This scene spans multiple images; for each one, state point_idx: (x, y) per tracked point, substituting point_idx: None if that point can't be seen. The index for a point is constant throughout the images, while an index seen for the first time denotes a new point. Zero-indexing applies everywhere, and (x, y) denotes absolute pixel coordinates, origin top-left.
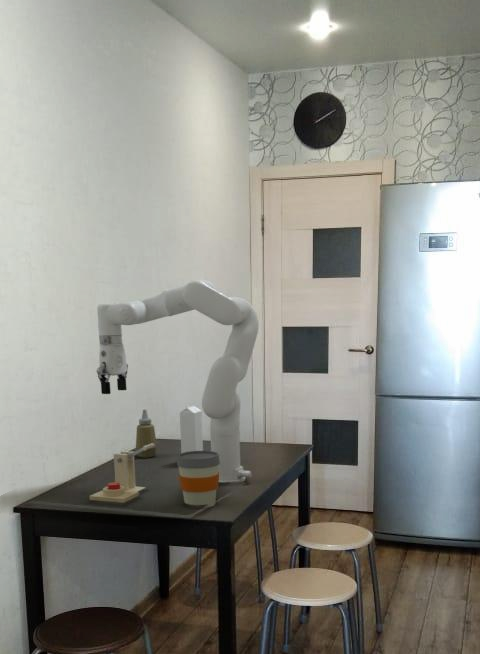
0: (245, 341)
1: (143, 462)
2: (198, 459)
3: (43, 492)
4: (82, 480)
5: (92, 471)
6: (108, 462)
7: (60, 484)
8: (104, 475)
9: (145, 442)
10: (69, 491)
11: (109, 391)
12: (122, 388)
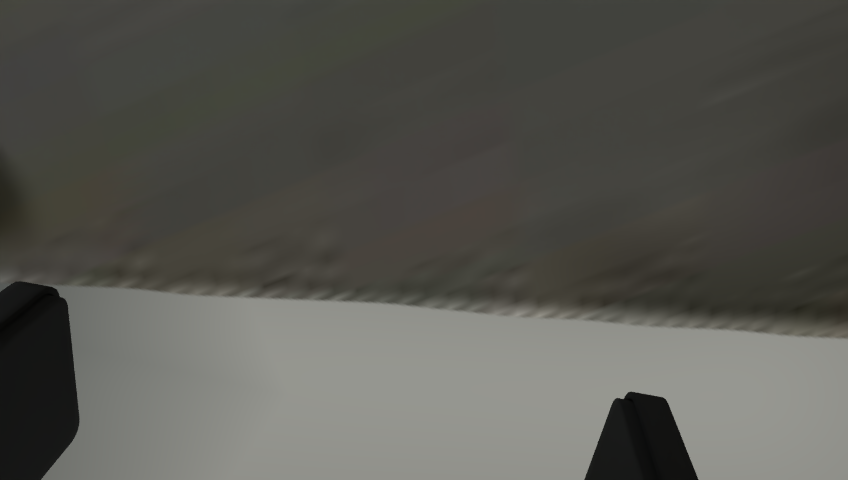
0: None
1: (50, 89)
2: None
3: (796, 327)
4: (534, 248)
5: (332, 276)
6: (121, 277)
7: (627, 316)
8: (407, 181)
9: None
10: (784, 216)
11: (672, 428)
12: (52, 361)
